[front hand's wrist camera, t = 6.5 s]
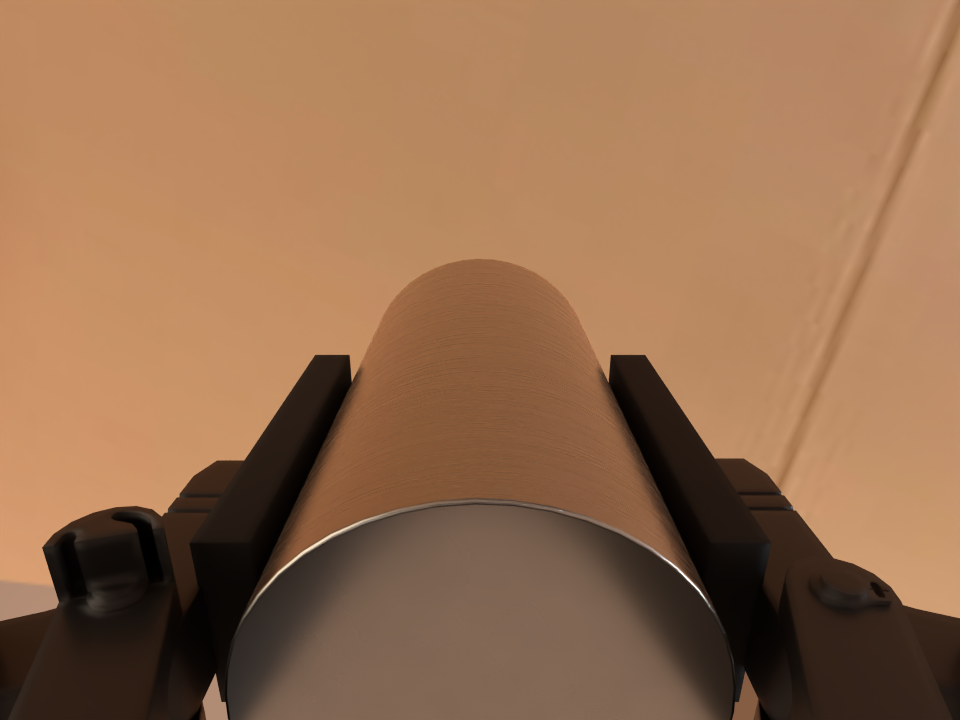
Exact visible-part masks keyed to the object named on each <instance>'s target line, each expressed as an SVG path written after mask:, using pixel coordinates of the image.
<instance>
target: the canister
mask: <svg viewBox="0 0 960 720" xmlns="http://www.w3.org/2000/svg"><path fill="white" fill-rule="evenodd" d="M735 694H736V677H735V666H734V658H733V655H732V651H731V648H730V644H729V640H728V637H727V634H726V632H725V630H724V627H723V625H722V623H721V621H720V619H719V617H718V615H717V613H716V610H715V608H714V606H713V604H712V602H711V600H710V598H709V596H708V593H707V591H706V589H705V587H704V585H703V583H702V581H701V579H700V576H699V574H698V572H697V570H696V568H695V566H694V564H693V562H692V559H691V557H690V555H689V553H688V551H687V549H686V547H685V545H684V542H683V540H682V538H681V536H680V534H679V532H678V530H677V528H676V525H675V523H674V521H673V519H672V517H671V515H670V513H669V511H668V508H667V506H666V504H665V502H664V500H663V498H662V496H661V494H660V491H659V489H658V487H657V485H656V483H655V481H654V479H653V477H652V474H651V472H650V470H649V468H648V466H647V464H646V462H645V460H644V457H643V455H642V453H641V451H640V449H639V447H638V445H637V443H636V440H635V438H634V436H633V434H632V432H631V430H630V428H629V425H628V423H627V421H626V419H625V417H624V415H623V413H622V411H621V408H620V406H619V404H618V402H617V400H616V398H615V396H614V394H613V391H612V389H611V387H610V385H609V383H608V381H607V379H606V377H605V374H604V372H603V370H602V368H601V366H600V364H599V362H598V360H597V357H596V355H595V353H594V351H593V349H592V347H591V345H590V343H589V340H588V338H587V336H586V334H585V332H584V330H583V328H582V326H581V323H580V321H579V319H578V317H577V315H576V313H575V311H574V310H573V308H572V307H571V305H570V304H569V302H568V301H567V300H566V299H565V297H564V296H563V295H562V294H561V293H560V292H559V291H558V290H557V289H556V288H555V287H554V286H553V285H551V284H550V283H549V282H548V281H547V280H545V279H544V278H542V277H540V276H539V275H537V274H536V273H534V272H532V271H530V270H527V269H525V268H523V267H521V266H518V265H514V264H511V263H508V262H503V261H497V260H488V259H473V260H462V261H458V262H453V263H448V264H446V265H443V266H440V267H437V268H435V269H433V270H431V271H429V272H427V273H425V274H423V275H421V276H420V277H418V278H417V279H415V280H414V281H413V282H411V283H410V284H409V285H408V286H407V287H405V288H404V289H403V290H402V291H401V292H400V293H399V294H398V295H397V297H396V298H395V299H394V300H393V301H392V303H391V304H390V306H389V307H388V309H387V311H386V312H385V314H384V315H383V318H382V320H381V322H380V324H379V326H378V328H377V330H376V332H375V335H374V337H373V339H372V341H371V343H370V345H369V347H368V349H367V352H366V354H365V356H364V358H363V360H362V362H361V364H360V366H359V369H358V371H357V373H356V375H355V377H354V379H353V381H352V384H351V386H350V388H349V390H348V392H347V394H346V396H345V398H344V401H343V403H342V405H341V407H340V409H339V411H338V413H337V415H336V418H335V420H334V422H333V424H332V426H331V428H330V430H329V432H328V435H327V437H326V439H325V441H324V443H323V445H322V447H321V449H320V452H319V454H318V456H317V458H316V460H315V462H314V464H313V466H312V469H311V471H310V473H309V475H308V477H307V479H306V481H305V484H304V486H303V488H302V490H301V492H300V494H299V496H298V498H297V501H296V503H295V505H294V507H293V509H292V511H291V513H290V515H289V518H288V520H287V522H286V524H285V526H284V528H283V530H282V532H281V535H280V537H279V539H278V541H277V543H276V545H275V547H274V549H273V552H272V554H271V556H270V558H269V560H268V562H267V564H266V567H265V569H264V571H263V573H262V575H261V577H260V579H259V581H258V584H257V586H256V588H255V590H254V592H253V594H252V596H251V598H250V601H249V603H248V605H247V607H246V609H245V611H244V613H243V615H242V618H241V620H240V622H239V625H238V627H237V629H236V632H235V634H234V636H233V639H232V641H231V645H230V650H229V654H228V658H227V663H226V670H225V700H226V707H227V715H228V720H732V717H733V714H734V705H735Z"/></svg>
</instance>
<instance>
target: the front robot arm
mask: <svg viewBox="0 0 960 720" xmlns="http://www.w3.org/2000/svg"><path fill="white" fill-rule="evenodd" d="M351 384H352V380H351V368H350V356H349V355H315V356H314V358H313V359H312V361H311V362H310V364H309V365H308V367H307V368H306V370H305V371H304V373H303V374H302V376H301V377H300V379H299V380H298V382H297V383H296V385H295V386H294V388H293V389H292V391H291V392H290V394H289V395H288V397H287V398H286V399H285V401H284V402H283V404H282V405H281V407H280V408H279V410H278V411H277V413H276V414H275V416H274V417H273V419H272V420H271V422H270V423H269V425H268V426H267V428H266V429H265V431H264V432H263V434H262V435H261V437H260V438H259V440H258V441H257V443H256V444H255V446H254V447H253V449H252V450H251V452H250V453H249V455H248V456H247V458H246V459H245V461H216V462H214V463H213V464H211V465H210V466H208V467H207V468H205V469H204V470H202V471H201V472H199V473H198V474H196V475H195V476H193V478H192V479H191V480H190V481H189V483H188V484H187V485H186V487H185V488H184V489H183V490H182V492H181V493H180V497H179V498H176V499H175V501H174V502H173V503H172V505H171V506H170V507H169V508H168V513H164V515H163V516H162V517H161V516H160V515H159V514H157V513H156V512H155V511H154V510H152V509H148V508H143V507H138V506H130V507H115V508H111V509H107V510H103V511H99V512H95V513H92V514H89V515H87V516H85V517H82V518H80V519H78V520H75V521H73V522H71V523H69V524H68V525H67V526H65V527H64V528H62V529H61V530H59V531H58V532H56V533H55V534H53V535H52V537H51V538H50V539H49V540H48V541H47V543H46V544H45V545H44V546H43V547H42V548H43V552H44V555H45V558H46V561H47V564H48V568H49V571H50V574H51V577H52V581H53V584H54V587H55V590H56V593H57V597H58V600H59V604H58V606H57V608H56V609H52V610H48V611H45V612H40V613H36V614H31V615H27V616H22V617H17V618H13V619H8V620H4V621H0V720H206V717H205V711H204V707H203V702H202V701H203V699H204V696H205V694H206V692H207V690H208V688H209V686H210V684H211V682H212V679H213V677H214V675H215V673H216V677H217V682H218V687H219V691H220V696H221V701H222V702H226V700H225V670H226V663H227V658H228V654H229V650H230V645H231V641H232V639H233V636H234V634H235V632H236V629H237V627H238V625H239V622H240V620H241V618H242V615H243V613H244V611H245V609H246V607H247V605H248V603H249V601H250V598H251V596H252V594H253V592H254V590H255V588H256V586H257V584H258V581H259V579H260V577H261V575H262V573H263V571H264V569H265V567H266V564H267V562H268V560H269V558H270V556H271V554H272V552H273V549H274V547H275V545H276V543H277V541H278V539H279V537H280V535H281V532H282V530H283V528H284V526H285V524H286V522H287V520H288V518H289V515H290V513H291V511H292V509H293V507H294V505H295V503H296V501H297V498H298V496H299V494H300V492H301V490H302V488H303V486H304V484H305V481H306V479H307V477H308V475H309V473H310V471H311V469H312V466H313V464H314V462H315V460H316V458H317V456H318V454H319V452H320V449H321V447H322V445H323V443H324V441H325V439H326V437H327V435H328V432H329V430H330V428H331V426H332V424H333V422H334V420H335V418H336V415H337V413H338V411H339V409H340V407H341V405H342V403H343V401H344V398H345V396H346V394H347V392H348V390H349V388H350V386H351ZM609 385H610V387H611V389H612V391H613V394H614V396H615V398H616V400H617V402H618V404H619V406H620V408H621V411H622V413H623V415H624V417H625V419H626V421H627V423H628V425H629V428H630V430H631V432H632V434H633V436H634V438H635V440H636V443H637V445H638V447H639V449H640V451H641V453H642V455H643V457H644V460H645V462H646V464H647V466H648V468H649V470H650V472H651V474H652V477H653V479H654V481H655V483H656V485H657V487H658V489H659V491H660V494H661V496H662V498H663V500H664V502H665V504H666V506H667V508H668V511H669V513H670V515H671V517H672V519H673V521H674V523H675V525H676V528H677V530H678V532H679V534H680V536H681V538H682V540H683V542H684V545H685V547H686V549H687V551H688V553H689V555H690V557H691V559H692V562H693V564H694V566H695V568H696V570H697V572H698V574H699V576H700V579H701V581H702V583H703V585H704V587H705V589H706V591H707V593H708V596H709V598H710V600H711V602H712V604H713V606H714V608H715V610H716V613H717V615H718V617H719V619H720V621H721V623H722V625H723V627H724V630H725V632H726V634H727V637H728V640H729V644H730V648H731V651H732V655H733V658H734V666H735V677H736V694H735V702H739V698H740V693H741V689H742V684H743V679H744V674H745V671H746V673H747V675H748V677H749V680H750V682H751V684H752V686H753V688H754V690H755V692H756V694H757V697H758V702H757V707H756V711H755V716H754V720H960V618H956V617H951V616H946V615H942V614H937V613H932V612H928V611H923V610H919V609H915V608H911V607H908V606H904V605H902V602H901V601H900V599H899V598H898V596H897V595H896V594H895V592H894V591H893V589H892V588H891V587H890V586H889V585H887V584H886V583H885V582H884V581H882V580H881V579H880V578H878V577H877V576H876V575H875V574H873V573H871V572H869V571H867V570H865V569H863V568H861V567H859V566H857V565H855V564H852V563H848V562H845V561H841V560H838V559H834V558H833V557H832V556H831V555H830V553H829V552H828V551H827V549H826V548H825V547H824V546H823V544H822V543H821V542H820V541H819V539H818V538H817V537H816V535H815V534H814V533H813V532H812V530H811V529H810V528H809V527H808V525H807V524H806V523H805V521H804V520H803V519H802V518H801V516H800V515H799V514H798V513H797V511H793V506H792V505H791V504H790V502H789V501H788V500H787V499H786V497H785V496H784V495H781V491H780V490H779V488H778V487H777V486H776V485H775V483H774V482H773V481H772V480H771V478H770V477H769V476H768V475H767V474H766V473H765V472H763V471H762V470H760V469H759V468H757V467H756V466H754V465H753V464H751V463H749V462H748V461H746V460H745V459H715V458H714V457H713V455H712V454H711V452H710V451H709V449H708V448H707V446H706V445H705V444H704V442H703V441H702V439H701V438H700V436H699V435H698V433H697V432H696V430H695V429H694V427H693V426H692V424H691V423H690V421H689V420H688V418H687V417H686V415H685V414H684V412H683V411H682V409H681V408H680V406H679V405H678V403H677V402H676V400H675V399H674V397H673V396H672V394H671V393H670V391H669V390H668V388H667V387H666V385H665V384H664V382H663V381H662V380H661V378H660V377H659V375H658V374H657V372H656V371H655V369H654V368H653V366H652V365H651V363H650V362H649V360H648V359H647V357H646V356H645V355H611V361H610V373H609Z"/></svg>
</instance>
